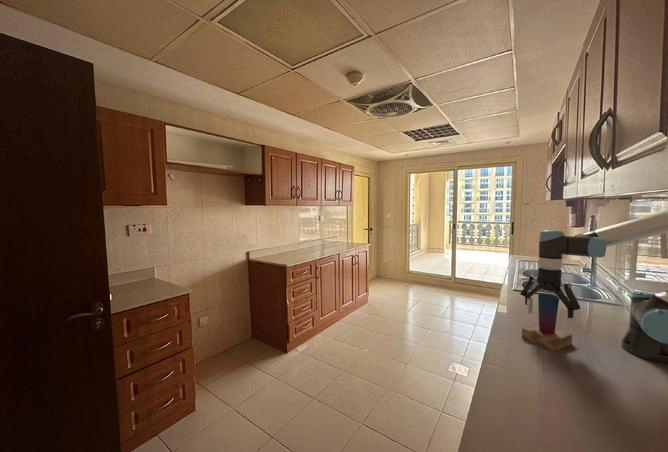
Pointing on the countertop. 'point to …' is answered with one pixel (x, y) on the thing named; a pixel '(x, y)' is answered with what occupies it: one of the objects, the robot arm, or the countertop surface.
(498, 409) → the countertop surface
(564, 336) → the base block
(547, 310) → the cup
